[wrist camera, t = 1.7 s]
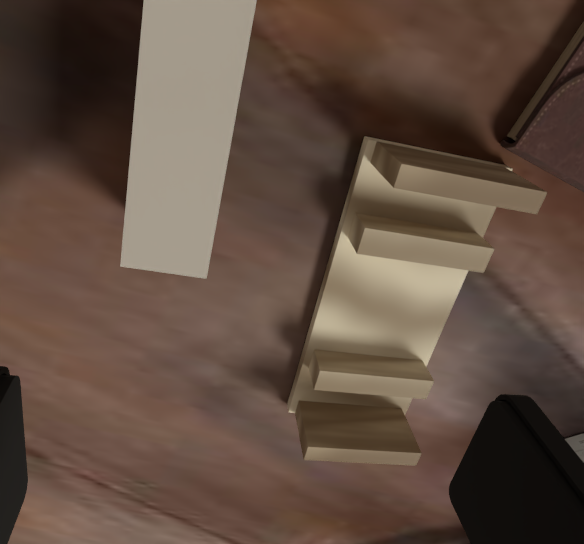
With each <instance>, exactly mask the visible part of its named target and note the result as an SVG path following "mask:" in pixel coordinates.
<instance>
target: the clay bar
mask: <svg viewBox="0 0 584 544" xmlns="http://www.w3.org/2000/svg"><path fill="white" fill-rule="evenodd" d="M256 1H257V0H144V3H143V14H142V25H141V37H140V48H139V60H138V71H137V82H136V94H135V105H134V116H133V128H132V139H131V151H130V162H129V173H128V185H127V196H126V207H125V219H124V230H123V242H122V253H121V264H120V266H121V267H128V268H135V269H142V270H149V271H156V272H163V273H170V274H177V275H184V276H192V277H199V278H206V279H207V273H208V268H209V262H210V256H211V251H212V245H213V240H214V234H215V229H216V223H217V218H218V212H219V206H220V201H221V195H222V190H223V184H224V179H225V173H226V168H227V162H228V157H229V151H230V145H231V140H232V134H233V129H234V123H235V118H236V112H237V107H238V101H239V95H240V90H241V84H242V79H243V73H244V68H245V62H246V57H247V51H248V45H249V40H250V34H251V29H252V23H253V18H254V12H255V7H256Z"/></svg>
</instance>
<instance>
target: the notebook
mask: <svg viewBox="0 0 584 544" xmlns="http://www.w3.org/2000/svg"><path fill="white" fill-rule="evenodd" d="M507 137H509V138H511V139H512V140H514V141H516V142H515V143H512V144H510V143H509V142H507V141H505V140H502V141H501V143H500V144H501V146H502V147H504V148H506V149H507V150H509V151H511V152H513V153H515V154H516V155H518V156H520V157H522V158H524V159H525V160H527V161H529V162H531V163H533V164H534V165H536V166H538V167H540V168H542V169H543V170H545V171H547V172H549V173H551V174H552V175H554V176H556V177H558V178H559V179H561V180H563V181H565V182H567V183H568V184H570V185H572V186H574V187H576V188H577V189H579V190H581V191H583V192H584V21H583V23H582V24H581V26H580V27H579V29H578V30H577V32H576V33H575V35H574V36H573V38H572V39H571V41H570V42H569V44H568V45H567V47H566V48H565V50H564V51H563V53H562V54H561V56H560V57H559V59H558V60H557V62H556V63H555V65H554V66H553V68H552V69H551V71H550V72H549V74H548V75H547V77H546V78H545V80H544V81H543V83H542V84H541V86H540V87H539V89H538V90H537V92H536V93H535V95H534V96H533V98H532V99H531V101H530V102H529V104H528V105H527V107H526V108H525V110H524V111H523V113H522V114H521V115H520V117H519V118H518V120H517V121H516V123H515V124H514V126H513V127H512V129H511V130H510V132H509V133H508V135H507Z"/></svg>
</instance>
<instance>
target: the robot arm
mask: <svg viewBox="0 0 584 544" xmlns="http://www.w3.org/2000/svg"><path fill="white" fill-rule="evenodd" d="M27 483H28V476H27V463H26V450H25V437H24V424H23V411H22V398H21V385H20V378H19V376H12V375H10V374H9V370H8V368H7V367H3V366H0V544H7V543H8V541H9V538H10V535H11V533H12V530H13V528H14V525H15V522H16V520H17V517H18V514H19V512H20V509H21V507H22V504H23V501H24V498H25V494H26V490H27ZM449 495H450V500H451V502H452V505H453V507H454V509H455V511H456V513H457V515H458V517H459V519H460V522H461V524H462V526H463V528H464V530H465V532H466V534H467V536H468V538H469V540H470V543H471V544H584V462H583V461H582V460H581V459H580V457H579V456H578V455H577V454H576V453H575V451H574V450H573V449H572V448H571V446H570V445H569V444H568V443H567V441H566V440H565V439H564V438H563V436H562V435H561V434H560V433H559V431H558V430H557V429H556V428H555V426H554V425H553V424H552V423H551V421H550V420H549V419H548V418H547V417H546V415H545V414H544V413H543V412H542V410H541V409H540V408H539V407H538V405H537V404H536V403H535V402H534V400H532V399H531V398H530V397H528V396H523V395H505V394H504V395H500V396H498V397H497V398H496V399H495V401H492V402H491V403H490V404H489V406H488V408H487V410H486V412H485V414H484V416H483V418H482V420H481V422H480V424H479V426H478V428H477V430H476V432H475V434H474V436H473V438H472V440H471V442H470V444H469V446H468V448H467V450H466V452H465V455H464V457H463V459H462V461H461V463H460V465H459V467H458V469H457V471H456V473H455V475H454V477H453V479H452V481H451V483H450V486H449Z"/></svg>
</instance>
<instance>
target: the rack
mask: <svg viewBox="0 0 584 544" xmlns="http://www.w3.org/2000/svg"><path fill="white" fill-rule="evenodd" d="M512 170H513V169H512V168H510V167H508V166H507V165H503V164H498V163H493V162H489V161H484V160H479V159H474V158H469V157H464V156H459V155H454V154H450V153H445V152H440V151H435V150H430V149H425V148H420V147H415V146H411V145H406V144H401V143H396V142H391V141H386V140H381V139H376V138H372V137H367V136H364V139H363V142H362V146H361V149H360V153H359V156H358V160H357V163H356V167H355V170H354V174H353V177H352V181H351V184H350V188H349V191H348V195H347V198H346V201H345V205H344V208H343V212H342V215H341V219H340V222H339V226H338V229H337V233H336V236H335V240H334V243H333V247H332V250H331V254H330V257H329V261H328V264H327V268H326V271H325V274H324V278H323V281H322V285H321V288H320V292H319V295H318V299H317V302H316V306H315V309H314V313H313V316H312V320H311V323H310V327H309V330H308V334H307V337H306V341H305V344H304V347H303V351H302V354H301V358H300V361H299V365H298V368H297V372H296V375H295V379H294V382H293V386H292V389H291V393H290V396H289V400H288V403H287V407H288V412H291V413H295V415H296V420H297V426H298V431H299V437H300V442H301V448H302V453H303V459H304V460H316V461H336V462H355V463H375V464H395V465H414V466H416V464H417V462H418V460H419V458H420V456H421V454H422V453H421V451H420V449H419V446H418V444H417V442H416V440H415V437H414V435H413V433H412V431H411V428H410V426H409V424H408V422H407V419H406V417H405V414H406V412H407V409H408V407H409V405H410V403H411V400H412V398H417V399H426V398H427V396H428V394H429V391H430V389H431V387H432V385H433V383H434V380H433V378H432V377H431V375H430V373H429V371H428V370H427V368H426V366H427V364H428V361H429V359H430V357H431V355H432V352H433V350H434V348H435V346H436V343H437V341H438V339H439V336H440V334H441V332H442V330H443V327H444V325H445V323H446V320H447V318H448V316H449V314H450V311H451V309H452V307H453V304H454V302H455V300H456V298H457V295H458V293H459V291H460V288H461V286H462V284H463V282H464V279H465V277H466V275H467V273H468V270H469V271H475V272H482V273H484V271H485V268H486V266H487V264H488V262H489V260H490V257H491V255H492V253H493V251H494V248H493V247H492V246H491V245H490V244H489V243H488V242H486V241H485V240H484V239H483V236H484V234H485V231H486V229H487V227H488V225H489V222H490V220H491V218H492V215H493V213H494V211H495V209H496V207H500V208H506V209H511V210H517V211H522V212H527V213H533V214H537V213H538V211H539V209H540V207H541V205H542V203H543V200H544V198H545V196H546V194H547V192H546V191H544V190H543V189H541V188H539V187H537V186H536V185H534V184H532V183H531V182H529V181H527V180H526V179H524V178H522V177H520V176H519V175H517V174H515V173H514V172H512Z"/></svg>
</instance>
